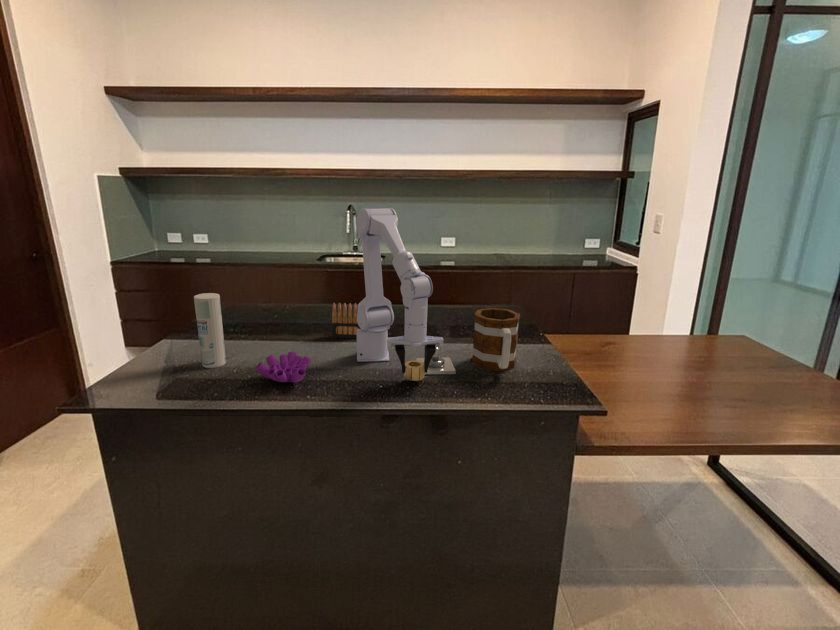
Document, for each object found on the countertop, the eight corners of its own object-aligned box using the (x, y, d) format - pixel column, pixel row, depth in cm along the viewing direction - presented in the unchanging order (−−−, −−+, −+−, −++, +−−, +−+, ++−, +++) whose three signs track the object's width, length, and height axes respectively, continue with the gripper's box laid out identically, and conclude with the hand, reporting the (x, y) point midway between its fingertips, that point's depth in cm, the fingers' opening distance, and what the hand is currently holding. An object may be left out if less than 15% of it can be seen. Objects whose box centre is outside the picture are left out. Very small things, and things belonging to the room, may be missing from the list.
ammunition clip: (364, 336, 160) (363, 302, 157) (363, 338, 158) (362, 303, 155) (332, 335, 160) (331, 301, 157) (331, 337, 158) (330, 303, 155)
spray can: (231, 362, 135) (224, 295, 130) (211, 369, 130) (203, 299, 124) (216, 357, 138) (209, 291, 133) (196, 364, 133) (188, 296, 127)
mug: (467, 354, 146) (470, 307, 142) (510, 353, 147) (514, 307, 143) (480, 380, 127) (483, 327, 123) (528, 380, 128) (533, 327, 124)
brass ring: (405, 380, 122) (405, 368, 121) (403, 372, 127) (404, 360, 126) (425, 380, 122) (425, 367, 121) (422, 372, 127) (423, 360, 126)
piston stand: (419, 374, 130) (420, 353, 128) (416, 361, 139) (416, 341, 138) (455, 373, 131) (456, 353, 129) (449, 360, 141) (450, 341, 139)
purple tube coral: (271, 403, 119) (247, 374, 117) (290, 378, 133) (268, 353, 131) (305, 380, 117) (281, 350, 115) (320, 357, 131) (298, 331, 129)
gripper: (388, 327, 116) (387, 378, 120) (446, 327, 117) (443, 377, 121) (386, 319, 122) (386, 367, 126) (441, 318, 124) (439, 366, 128)
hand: (414, 371), depth 124 cm, fingers closed on brass ring, 5 cm apart
